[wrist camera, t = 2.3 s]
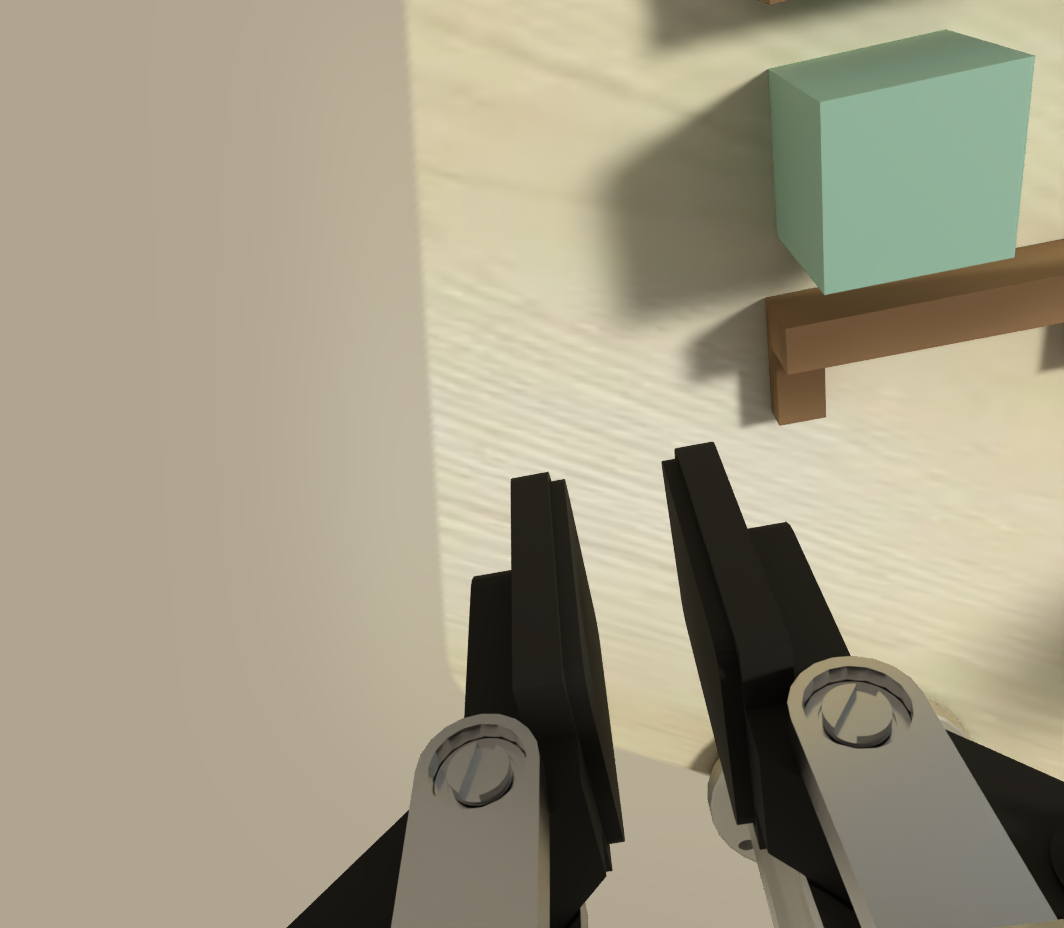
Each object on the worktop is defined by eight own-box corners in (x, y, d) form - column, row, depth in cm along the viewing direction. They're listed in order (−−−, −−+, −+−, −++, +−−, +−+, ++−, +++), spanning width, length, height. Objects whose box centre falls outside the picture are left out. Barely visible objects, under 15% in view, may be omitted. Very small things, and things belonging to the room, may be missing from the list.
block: (936, 202, 27) (1014, 257, 23) (776, 235, 28) (824, 295, 24) (945, 29, 25) (1034, 55, 20) (767, 68, 25) (820, 102, 21)
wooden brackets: (1120, 346, 30) (1167, 380, 28) (771, 411, 31) (791, 448, 29) (1243, -328, 21) (1327, -354, 18) (734, -202, 22) (759, -213, 19)
